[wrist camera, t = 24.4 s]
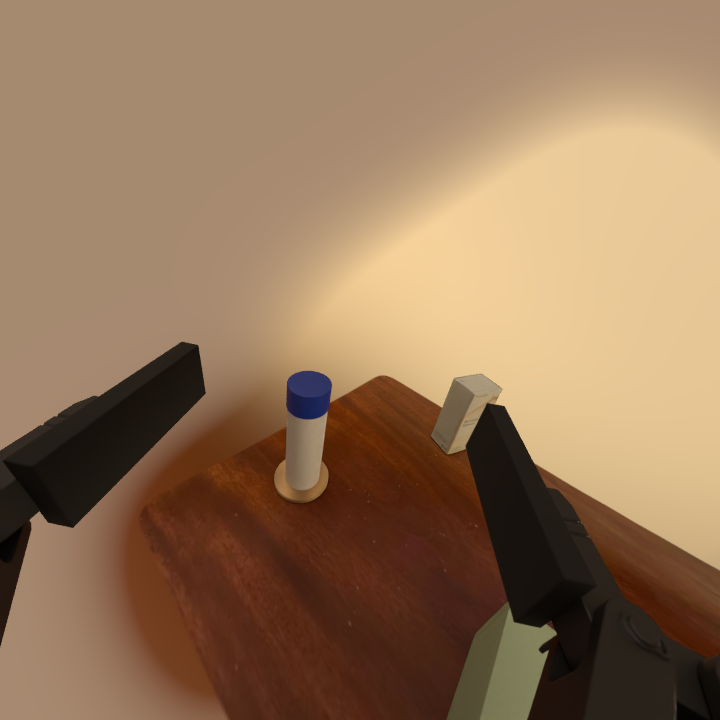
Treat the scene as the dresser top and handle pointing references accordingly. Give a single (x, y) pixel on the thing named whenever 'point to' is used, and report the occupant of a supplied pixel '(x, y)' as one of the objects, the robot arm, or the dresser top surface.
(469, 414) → the cosmetic box
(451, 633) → the dresser top surface
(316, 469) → the bottle
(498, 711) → the cabinet
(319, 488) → the coaster
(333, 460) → the dresser top surface
